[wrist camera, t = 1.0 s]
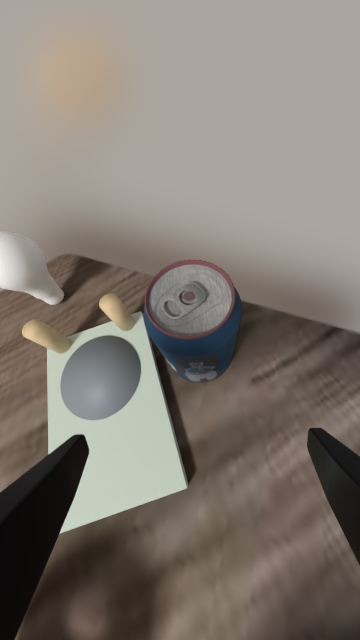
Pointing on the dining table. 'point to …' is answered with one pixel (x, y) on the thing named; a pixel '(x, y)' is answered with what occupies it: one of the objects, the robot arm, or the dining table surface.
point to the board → (110, 413)
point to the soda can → (193, 318)
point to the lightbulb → (26, 269)
